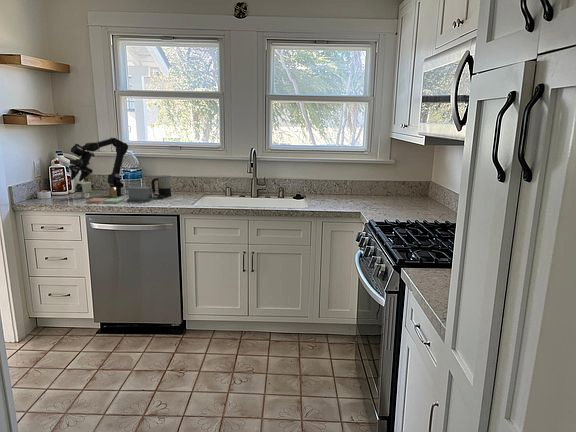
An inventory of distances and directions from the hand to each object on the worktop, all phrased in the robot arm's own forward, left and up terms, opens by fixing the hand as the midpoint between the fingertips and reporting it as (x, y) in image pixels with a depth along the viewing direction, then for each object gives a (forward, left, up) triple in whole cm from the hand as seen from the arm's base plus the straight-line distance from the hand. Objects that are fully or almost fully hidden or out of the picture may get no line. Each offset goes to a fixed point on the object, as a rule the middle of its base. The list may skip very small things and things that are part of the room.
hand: (75, 180), depth 286 cm
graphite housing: (-13, +39, -15) cm, 43 cm away
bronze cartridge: (-16, +17, -15) cm, 27 cm away
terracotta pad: (-4, +12, -15) cm, 19 cm away
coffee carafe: (-27, +49, -15) cm, 58 cm away
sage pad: (-4, +24, -15) cm, 28 cm away
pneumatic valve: (-16, -4, -15) cm, 22 cm away
